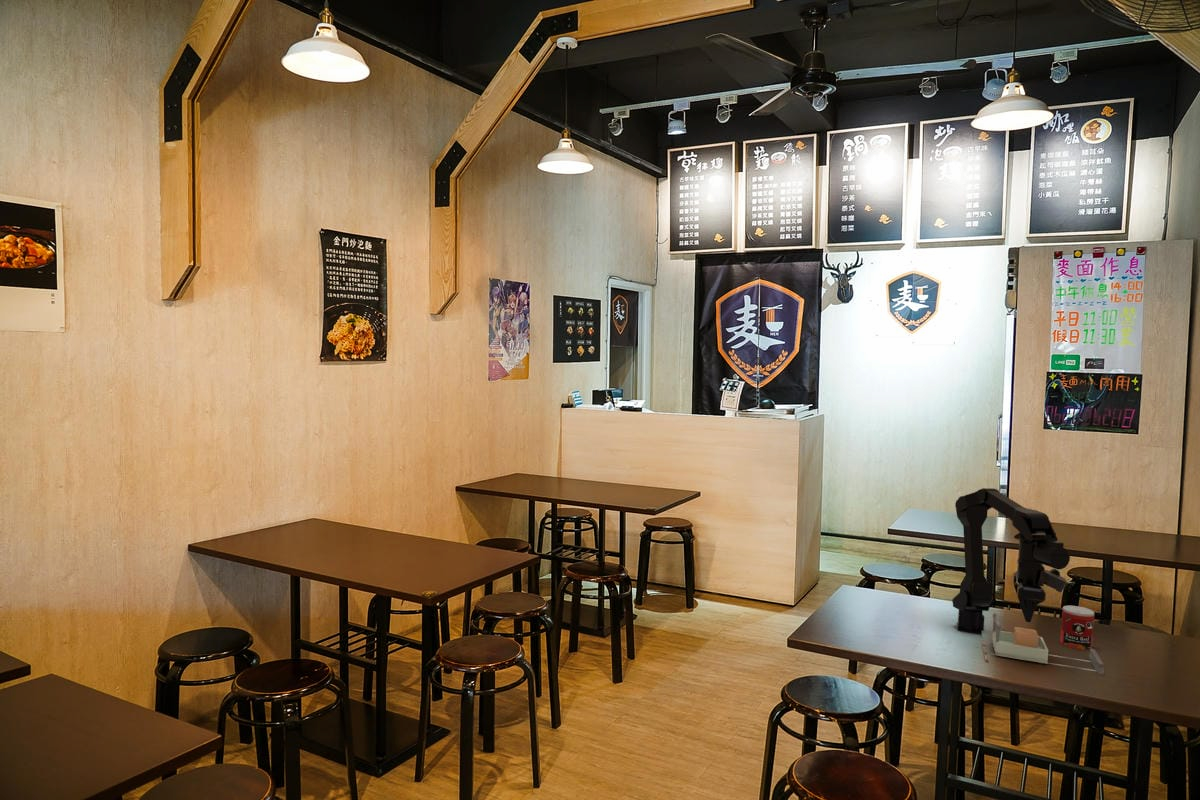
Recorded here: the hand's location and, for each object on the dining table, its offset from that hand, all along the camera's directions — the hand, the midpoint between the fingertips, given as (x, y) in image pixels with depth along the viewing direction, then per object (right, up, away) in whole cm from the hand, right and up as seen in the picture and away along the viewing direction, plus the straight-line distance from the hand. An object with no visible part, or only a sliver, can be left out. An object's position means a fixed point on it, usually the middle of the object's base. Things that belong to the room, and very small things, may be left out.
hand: (1026, 617), depth 207 cm
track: (+3, -12, -1) cm, 12 cm away
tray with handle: (-2, -10, +1) cm, 10 cm away
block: (0, -9, +1) cm, 9 cm away
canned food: (+20, -12, +11) cm, 25 cm away
